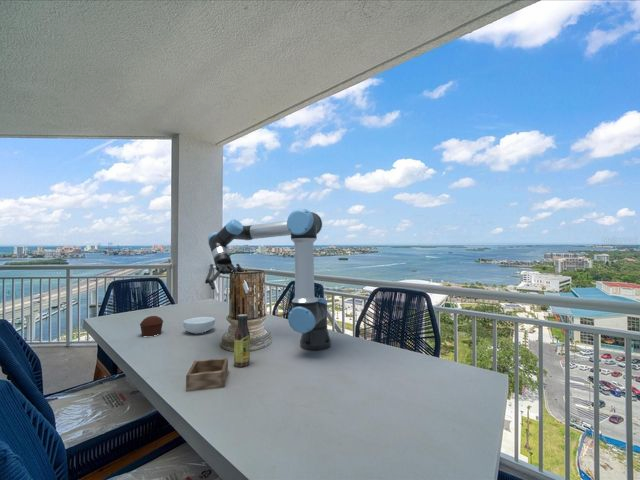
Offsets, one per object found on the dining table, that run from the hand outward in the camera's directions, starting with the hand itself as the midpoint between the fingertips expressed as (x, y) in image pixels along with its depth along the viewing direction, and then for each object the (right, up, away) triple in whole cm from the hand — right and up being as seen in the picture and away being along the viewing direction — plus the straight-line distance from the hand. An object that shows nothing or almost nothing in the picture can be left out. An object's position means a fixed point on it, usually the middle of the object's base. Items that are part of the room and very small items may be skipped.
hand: (232, 293), depth 124 cm
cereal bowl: (-31, -30, +37) cm, 57 cm away
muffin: (-55, -30, +33) cm, 71 cm away
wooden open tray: (-1, -27, -23) cm, 36 cm away
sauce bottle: (+7, -27, -9) cm, 30 cm away
